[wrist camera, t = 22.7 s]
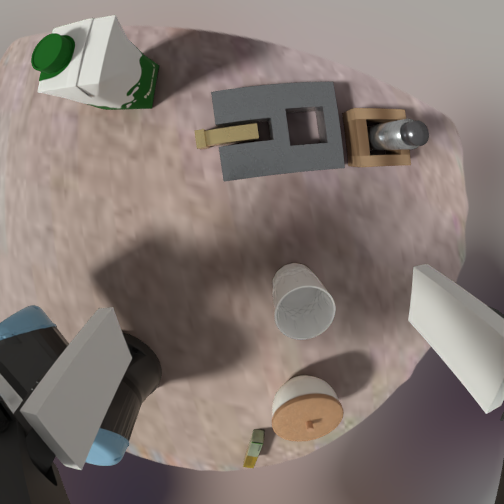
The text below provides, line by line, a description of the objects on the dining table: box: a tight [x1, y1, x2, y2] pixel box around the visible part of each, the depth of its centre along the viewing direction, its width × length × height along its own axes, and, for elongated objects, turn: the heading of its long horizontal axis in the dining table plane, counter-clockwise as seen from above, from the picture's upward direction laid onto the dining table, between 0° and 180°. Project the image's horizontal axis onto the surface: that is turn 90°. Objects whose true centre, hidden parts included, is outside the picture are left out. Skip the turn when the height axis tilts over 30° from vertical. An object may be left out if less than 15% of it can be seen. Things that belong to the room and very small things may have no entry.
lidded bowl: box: [272, 375, 343, 441], centre depth 48 cm, size 13×13×11 cm
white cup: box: [272, 263, 336, 340], centre depth 41 cm, size 8×8×10 cm
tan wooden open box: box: [342, 108, 411, 167], centre depth 37 cm, size 8×8×5 cm
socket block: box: [211, 82, 345, 181], centre depth 37 cm, size 16×12×4 cm
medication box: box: [243, 429, 265, 468], centre depth 56 cm, size 12×3×4 cm, turn 170°
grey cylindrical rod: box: [367, 119, 429, 150], centre depth 33 cm, size 4×4×14 cm
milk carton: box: [31, 15, 159, 110], centre depth 26 cm, size 9×9×20 cm
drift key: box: [195, 123, 259, 149], centre depth 37 cm, size 8×2×4 cm, turn 98°
